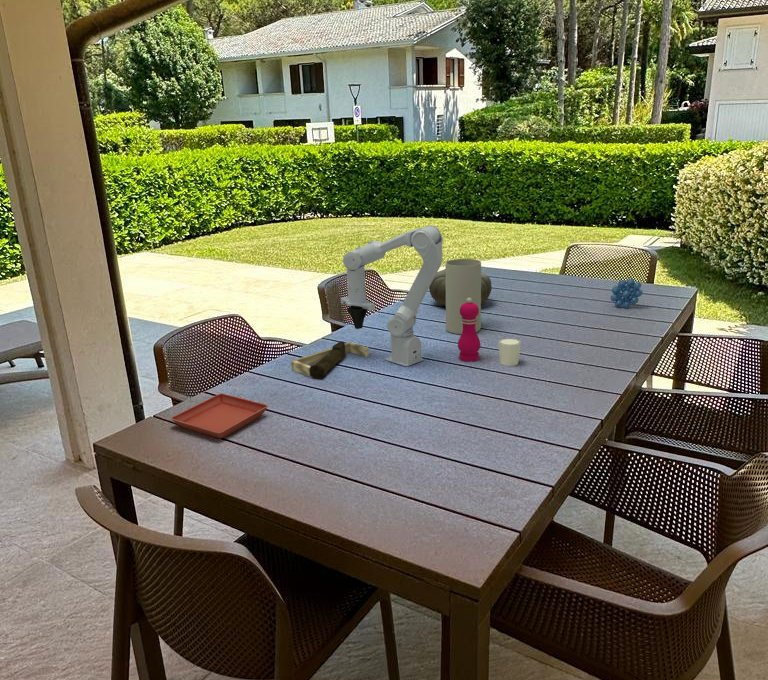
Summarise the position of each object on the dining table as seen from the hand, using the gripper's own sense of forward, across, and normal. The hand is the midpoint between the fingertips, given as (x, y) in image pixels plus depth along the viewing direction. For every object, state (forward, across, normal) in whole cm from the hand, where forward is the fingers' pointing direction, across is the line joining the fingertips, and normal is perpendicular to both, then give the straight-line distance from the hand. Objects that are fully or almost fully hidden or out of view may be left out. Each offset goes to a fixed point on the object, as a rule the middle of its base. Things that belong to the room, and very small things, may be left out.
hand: (358, 328), depth 212 cm
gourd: (+10, -15, +69) cm, 71 cm away
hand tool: (+10, 0, -13) cm, 16 cm away
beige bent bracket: (+9, -1, -11) cm, 15 cm away
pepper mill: (+10, +29, +21) cm, 37 cm away
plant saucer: (+10, +11, -58) cm, 60 cm away
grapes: (+10, +38, +106) cm, 113 cm away
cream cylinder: (+10, +41, +26) cm, 49 cm away
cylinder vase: (+10, +8, +43) cm, 45 cm away
